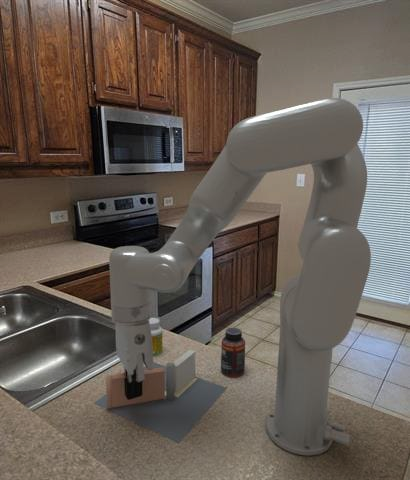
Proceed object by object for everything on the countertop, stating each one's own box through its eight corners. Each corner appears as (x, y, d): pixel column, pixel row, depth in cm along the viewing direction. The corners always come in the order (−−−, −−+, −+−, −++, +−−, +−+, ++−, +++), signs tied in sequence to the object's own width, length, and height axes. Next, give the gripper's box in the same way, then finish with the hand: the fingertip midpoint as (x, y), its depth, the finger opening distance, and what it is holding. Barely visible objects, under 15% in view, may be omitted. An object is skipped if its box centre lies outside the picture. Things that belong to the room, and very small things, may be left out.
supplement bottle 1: (158, 359, 94) (158, 325, 93) (139, 357, 95) (139, 323, 94) (164, 350, 100) (164, 317, 98) (146, 347, 101) (146, 315, 99)
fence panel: (163, 394, 78) (163, 367, 77) (164, 398, 76) (164, 371, 75) (106, 404, 74) (105, 375, 73) (107, 409, 73) (106, 379, 72)
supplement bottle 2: (247, 369, 90) (249, 328, 88) (239, 382, 85) (241, 338, 83) (225, 364, 93) (227, 323, 91) (216, 375, 87) (218, 333, 85)
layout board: (227, 389, 82) (228, 356, 80) (178, 445, 65) (179, 404, 63) (152, 362, 93) (151, 333, 91) (93, 404, 76) (92, 368, 74)
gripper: (164, 320, 64) (165, 411, 67) (137, 295, 76) (139, 373, 80) (123, 329, 60) (126, 424, 63) (102, 301, 73) (106, 382, 76)
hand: (133, 395), depth 72 cm, fingers closed
